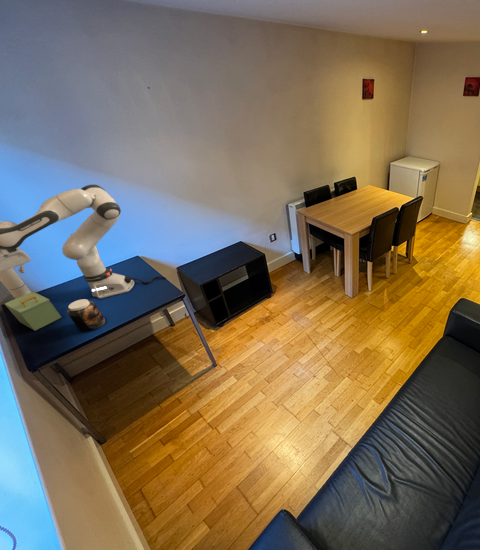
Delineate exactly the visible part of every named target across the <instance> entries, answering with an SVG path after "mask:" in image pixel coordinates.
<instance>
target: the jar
mask: <svg viewBox="0 0 480 550" xmlns="http://www.w3.org/2000/svg"><path fill="white" fill-rule="evenodd" d="M66 312H67V315H68V316H69V318H70V319H71V321H72V322H73V323H74V325H75V326H76V327H77V329H78V330H79V331H80V332H82V333H85V332H86V333H87V332H92V331H94V330H98V329H99V328H101V327H103V325H105V323H106V319H105V317H104V315H103V314H102V312H101V311H100V309H99V308H98V306H97V305H96V304H95V302H94V301H92V300H88V299H86V298H83V299H81V298H80V299H77V300H74V301H73V302H70V304H69V305H68V308H67V310H66Z"/></svg>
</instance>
